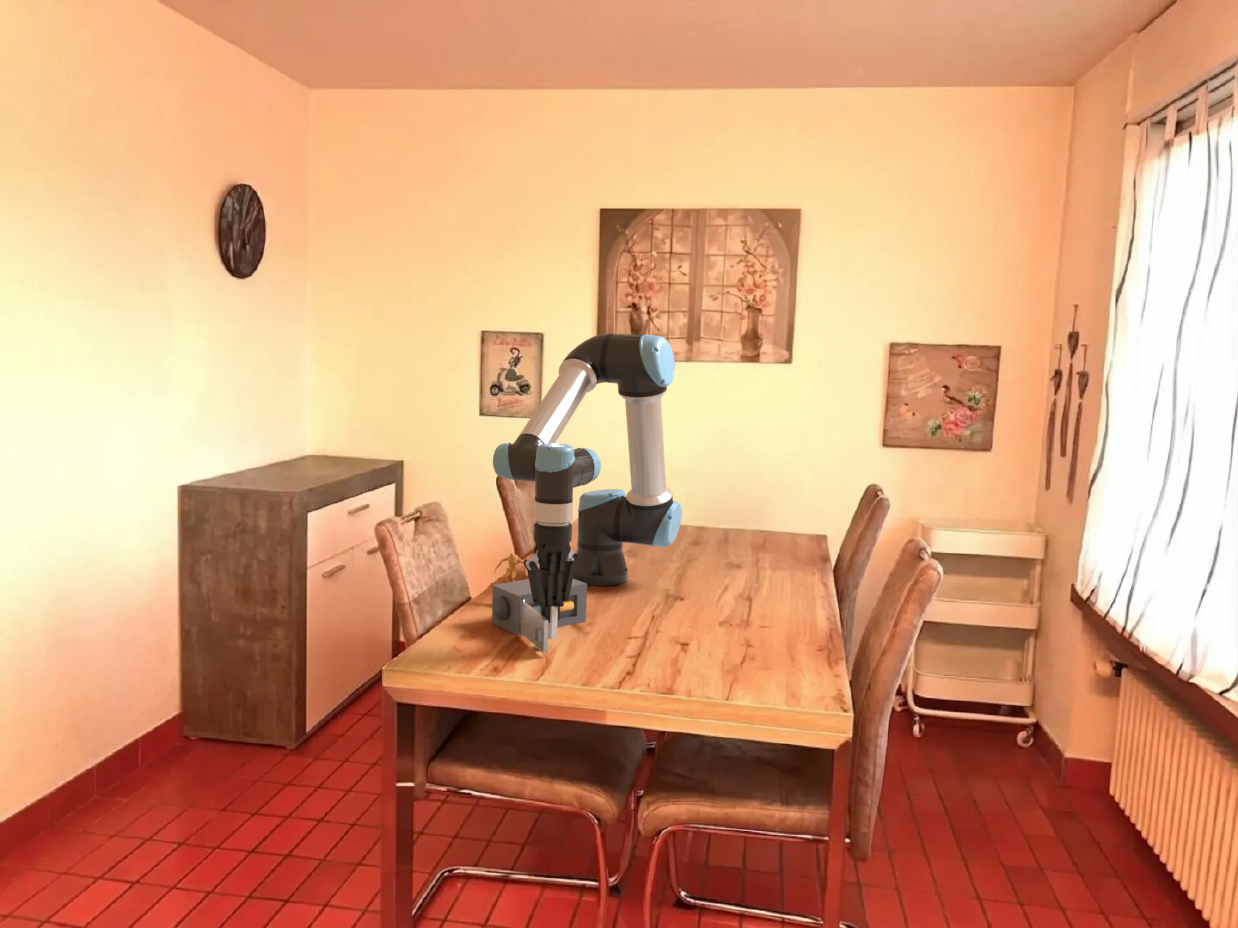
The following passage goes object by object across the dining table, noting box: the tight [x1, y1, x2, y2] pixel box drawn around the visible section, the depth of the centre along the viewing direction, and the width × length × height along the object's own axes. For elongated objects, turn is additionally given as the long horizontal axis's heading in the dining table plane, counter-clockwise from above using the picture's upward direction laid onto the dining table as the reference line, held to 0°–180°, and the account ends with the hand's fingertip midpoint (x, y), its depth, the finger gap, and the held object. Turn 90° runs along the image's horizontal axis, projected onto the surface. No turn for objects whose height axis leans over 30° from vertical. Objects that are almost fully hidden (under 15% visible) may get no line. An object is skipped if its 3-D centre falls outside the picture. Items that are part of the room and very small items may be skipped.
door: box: [519, 599, 549, 654], centre depth 187 cm, size 14×2×7 cm, turn 26°
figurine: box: [494, 552, 528, 583], centre depth 216 cm, size 8×6×12 cm
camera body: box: [491, 578, 588, 636], centre depth 203 cm, size 19×10×8 cm, turn 130°
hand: (550, 637), depth 187 cm, fingers closed
